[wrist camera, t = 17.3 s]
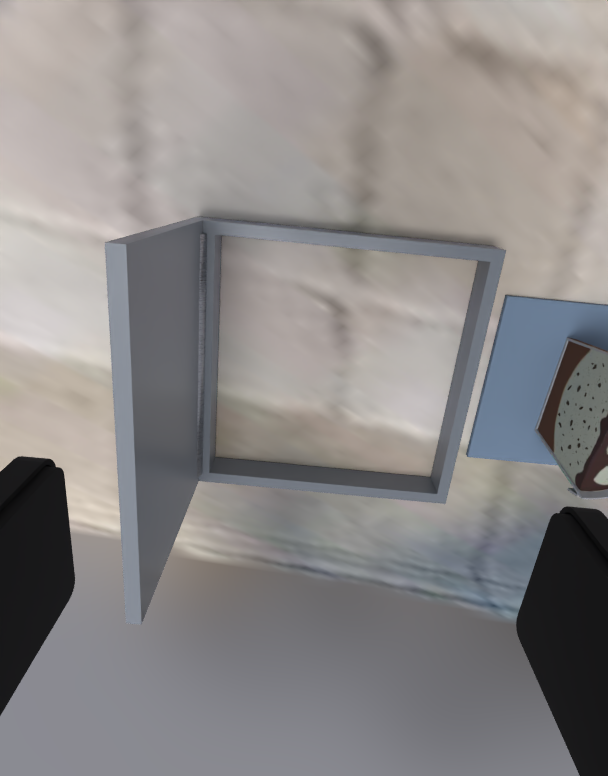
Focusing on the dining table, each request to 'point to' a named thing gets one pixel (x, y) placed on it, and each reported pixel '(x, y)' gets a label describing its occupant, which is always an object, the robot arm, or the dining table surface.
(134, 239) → the case
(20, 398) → the dining table surface
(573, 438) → the food container
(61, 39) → the dining table surface
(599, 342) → the mat
